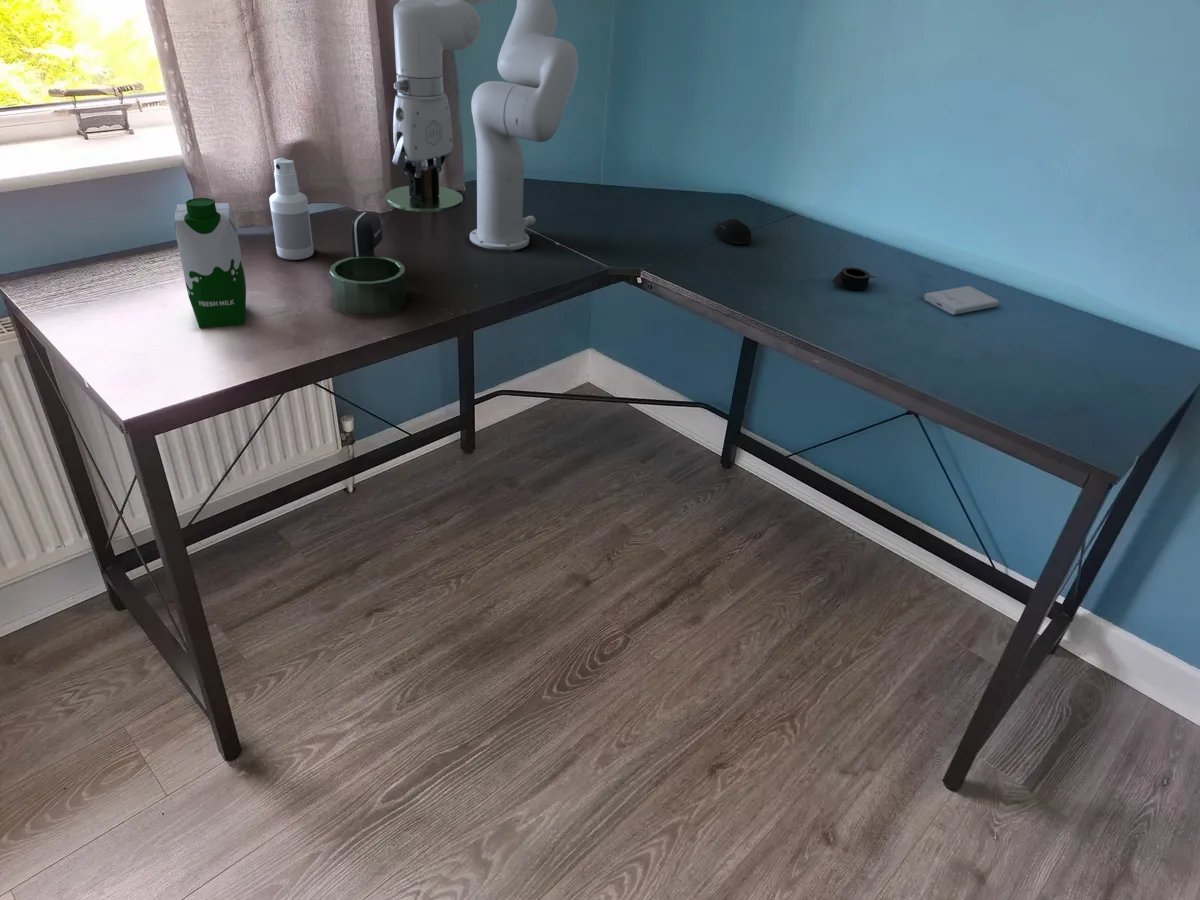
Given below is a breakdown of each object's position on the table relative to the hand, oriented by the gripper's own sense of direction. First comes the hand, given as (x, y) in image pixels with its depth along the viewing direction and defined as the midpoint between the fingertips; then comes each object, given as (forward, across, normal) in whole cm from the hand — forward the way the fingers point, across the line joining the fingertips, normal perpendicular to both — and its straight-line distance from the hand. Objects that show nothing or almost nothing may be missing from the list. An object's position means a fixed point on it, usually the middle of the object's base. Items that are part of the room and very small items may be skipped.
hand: (424, 195), depth 149 cm
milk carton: (+16, -35, +12) cm, 40 cm away
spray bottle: (+16, -9, +27) cm, 33 cm away
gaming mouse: (+17, +69, -28) cm, 76 cm away
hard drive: (+17, +69, -81) cm, 108 cm away
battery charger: (+16, -6, +9) cm, 20 cm away
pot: (+16, -14, 0) cm, 21 cm away
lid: (+1, 0, 0) cm, 1 cm away
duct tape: (+17, +61, -61) cm, 88 cm away
